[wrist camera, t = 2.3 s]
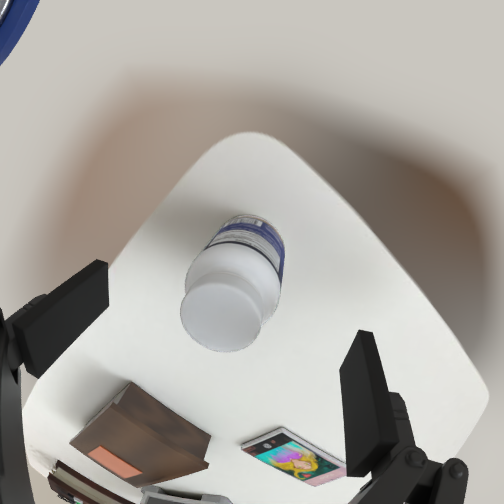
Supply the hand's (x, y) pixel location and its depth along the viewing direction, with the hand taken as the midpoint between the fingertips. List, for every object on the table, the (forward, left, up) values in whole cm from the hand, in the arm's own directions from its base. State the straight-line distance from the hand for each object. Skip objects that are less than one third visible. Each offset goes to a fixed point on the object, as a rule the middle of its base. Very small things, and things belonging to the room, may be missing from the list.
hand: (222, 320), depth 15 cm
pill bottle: (0, 0, -10) cm, 10 cm away
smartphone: (+24, -17, -9) cm, 31 cm away
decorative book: (+17, -83, -10) cm, 85 cm away
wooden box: (+7, -32, -9) cm, 34 cm away
